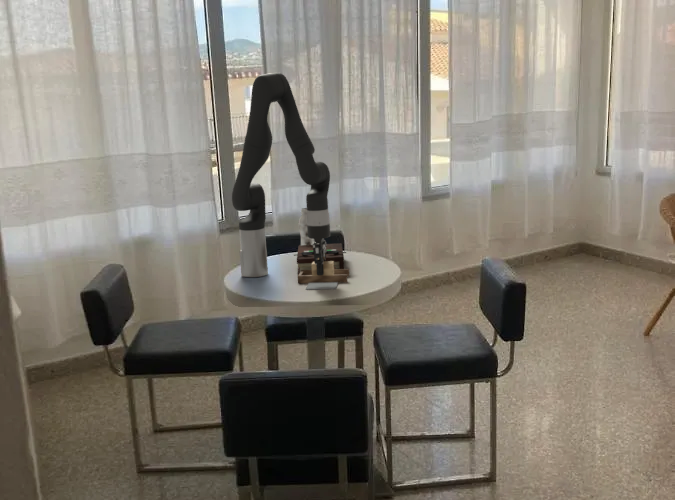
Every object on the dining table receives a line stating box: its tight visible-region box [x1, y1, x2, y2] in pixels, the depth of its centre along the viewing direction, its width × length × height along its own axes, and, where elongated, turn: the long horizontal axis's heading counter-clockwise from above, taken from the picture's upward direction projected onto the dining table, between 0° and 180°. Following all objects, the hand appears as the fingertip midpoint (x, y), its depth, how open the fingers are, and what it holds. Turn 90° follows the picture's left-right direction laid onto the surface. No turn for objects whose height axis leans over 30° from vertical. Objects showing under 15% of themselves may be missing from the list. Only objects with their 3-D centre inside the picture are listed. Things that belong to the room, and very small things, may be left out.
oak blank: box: [311, 261, 334, 276], centre depth 237 cm, size 7×4×4 cm, turn 84°
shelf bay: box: [297, 268, 350, 284], centre depth 248 cm, size 17×9×2 cm, turn 84°
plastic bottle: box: [298, 207, 315, 245], centre depth 282 cm, size 6×7×20 cm
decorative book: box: [293, 242, 347, 276], centre depth 267 cm, size 19×8×30 cm
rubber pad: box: [305, 282, 339, 291], centre depth 239 cm, size 10×8×1 cm
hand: (321, 273), depth 238 cm, fingers closed on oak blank, 4 cm apart
